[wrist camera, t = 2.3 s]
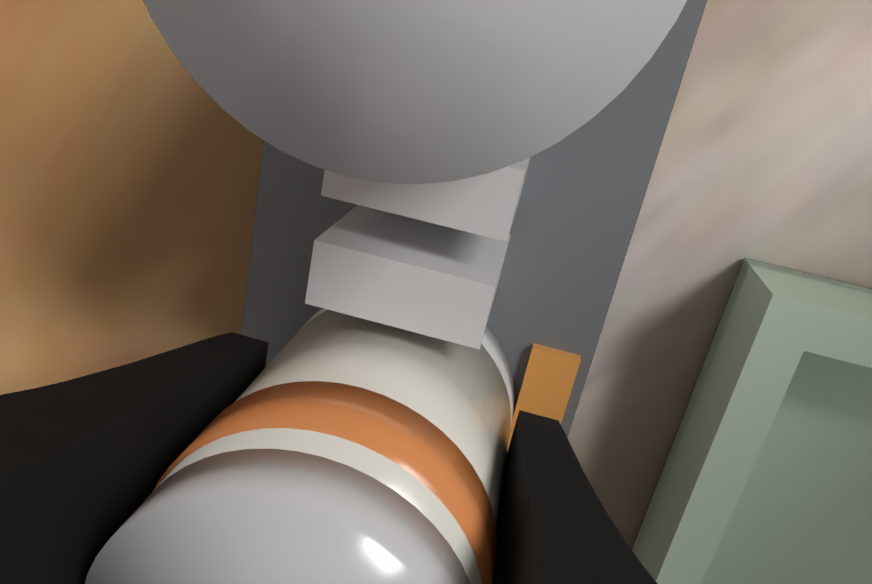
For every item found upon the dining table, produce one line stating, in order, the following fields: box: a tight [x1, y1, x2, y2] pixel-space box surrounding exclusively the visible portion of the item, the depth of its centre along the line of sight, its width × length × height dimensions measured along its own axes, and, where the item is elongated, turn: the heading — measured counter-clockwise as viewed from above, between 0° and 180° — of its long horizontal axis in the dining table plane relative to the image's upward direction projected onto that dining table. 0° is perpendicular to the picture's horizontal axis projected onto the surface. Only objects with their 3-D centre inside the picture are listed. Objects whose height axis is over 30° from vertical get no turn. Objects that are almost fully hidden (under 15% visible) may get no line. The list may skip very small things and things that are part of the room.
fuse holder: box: [241, 0, 707, 452], centre depth 12 cm, size 6×21×4 cm, turn 168°
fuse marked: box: [85, 308, 515, 584], centre depth 10 cm, size 4×4×6 cm
